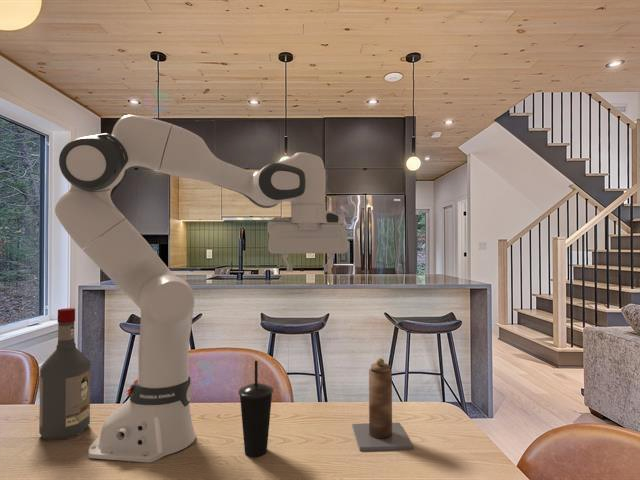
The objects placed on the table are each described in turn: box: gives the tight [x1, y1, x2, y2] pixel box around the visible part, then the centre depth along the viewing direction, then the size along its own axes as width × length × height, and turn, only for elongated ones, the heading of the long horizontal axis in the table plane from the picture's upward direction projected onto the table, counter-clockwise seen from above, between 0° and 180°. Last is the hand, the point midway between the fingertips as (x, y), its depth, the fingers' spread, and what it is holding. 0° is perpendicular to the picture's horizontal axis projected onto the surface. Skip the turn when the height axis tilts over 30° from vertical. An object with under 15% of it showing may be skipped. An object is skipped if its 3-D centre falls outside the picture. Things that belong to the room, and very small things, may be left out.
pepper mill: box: [368, 357, 393, 439], centre depth 96 cm, size 5×5×18 cm
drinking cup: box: [238, 360, 274, 458], centre depth 90 cm, size 8×8×20 cm
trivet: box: [351, 422, 414, 452], centre depth 96 cm, size 12×12×1 cm
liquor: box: [38, 307, 91, 440], centre depth 100 cm, size 9×9×30 cm
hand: (308, 271), depth 103 cm, fingers open, 8 cm apart
